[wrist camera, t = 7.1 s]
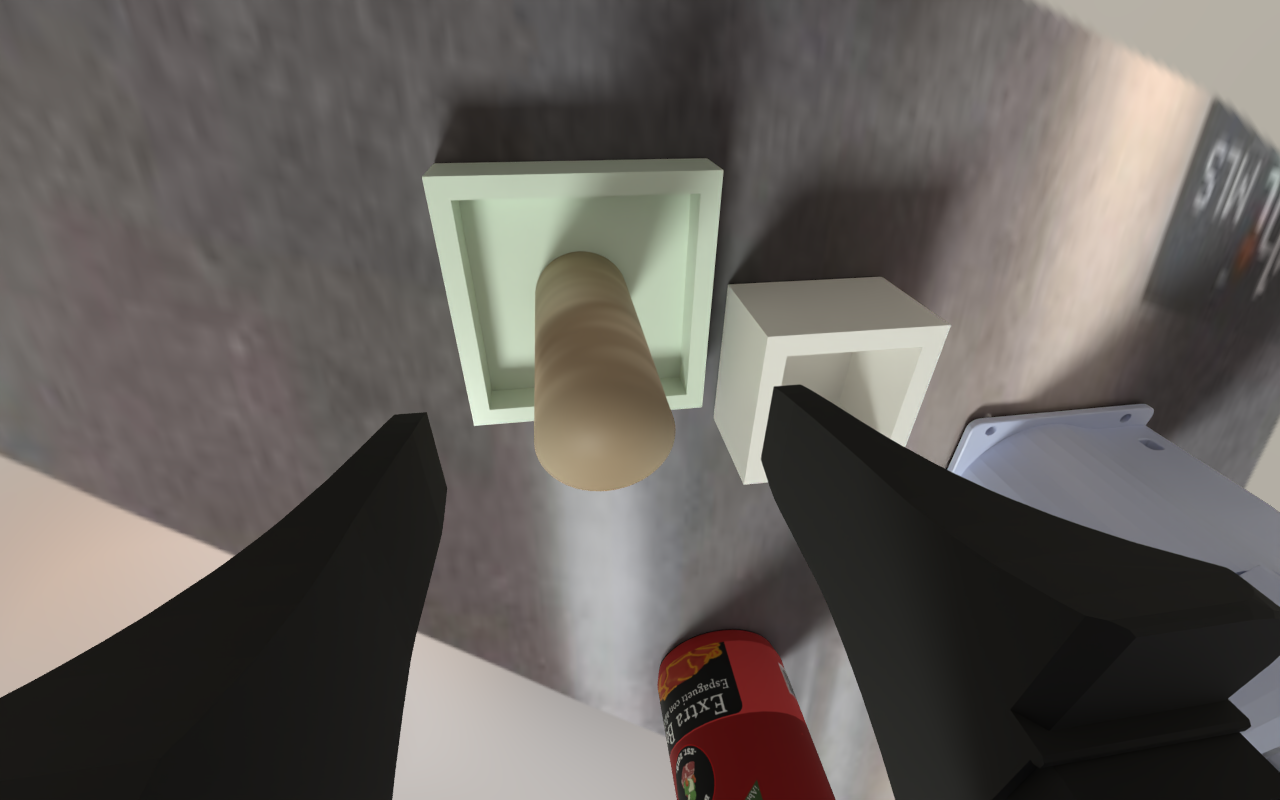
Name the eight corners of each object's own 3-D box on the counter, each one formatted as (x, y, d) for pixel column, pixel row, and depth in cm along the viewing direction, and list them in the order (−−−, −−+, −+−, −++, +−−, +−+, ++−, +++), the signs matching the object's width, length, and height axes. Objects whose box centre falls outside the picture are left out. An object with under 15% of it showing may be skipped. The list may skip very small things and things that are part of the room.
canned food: (699, 614, 30) (768, 865, 21) (802, 640, 33) (900, 866, 24) (630, 686, 33) (663, 930, 24) (729, 702, 36) (791, 923, 27)
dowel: (626, 248, 17) (678, 373, 11) (627, 333, 18) (672, 483, 12) (530, 253, 16) (525, 386, 10) (540, 340, 18) (542, 498, 12)
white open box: (881, 276, 19) (951, 325, 16) (845, 406, 22) (896, 469, 19) (728, 284, 18) (767, 337, 15) (713, 418, 22) (743, 484, 18)
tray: (707, 158, 16) (723, 169, 15) (690, 380, 21) (701, 406, 19) (433, 163, 15) (421, 176, 14) (479, 396, 20) (474, 425, 18)
